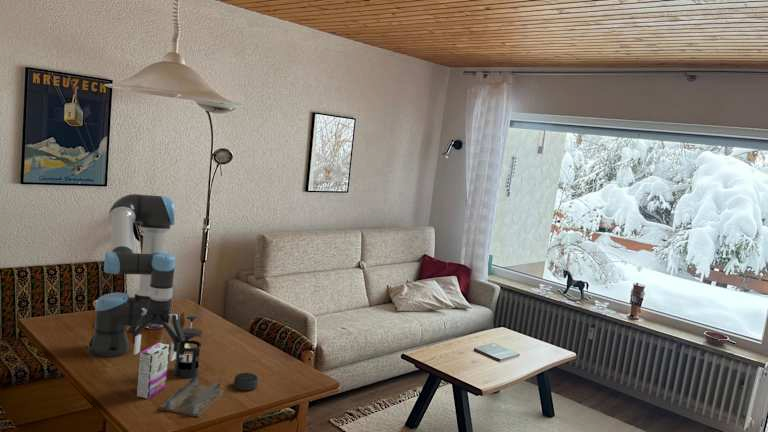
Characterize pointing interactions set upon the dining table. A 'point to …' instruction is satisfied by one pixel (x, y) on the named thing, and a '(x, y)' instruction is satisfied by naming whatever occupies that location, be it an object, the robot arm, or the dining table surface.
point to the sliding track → (193, 398)
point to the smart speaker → (246, 381)
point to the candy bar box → (152, 370)
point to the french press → (188, 359)
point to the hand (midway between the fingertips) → (154, 356)
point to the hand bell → (182, 323)
